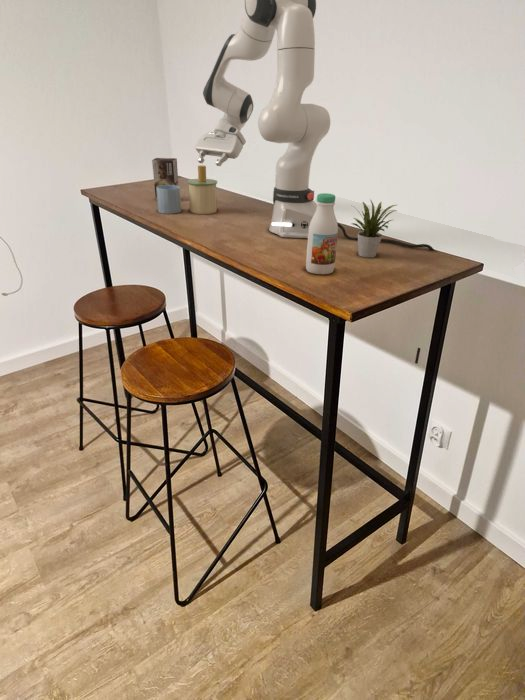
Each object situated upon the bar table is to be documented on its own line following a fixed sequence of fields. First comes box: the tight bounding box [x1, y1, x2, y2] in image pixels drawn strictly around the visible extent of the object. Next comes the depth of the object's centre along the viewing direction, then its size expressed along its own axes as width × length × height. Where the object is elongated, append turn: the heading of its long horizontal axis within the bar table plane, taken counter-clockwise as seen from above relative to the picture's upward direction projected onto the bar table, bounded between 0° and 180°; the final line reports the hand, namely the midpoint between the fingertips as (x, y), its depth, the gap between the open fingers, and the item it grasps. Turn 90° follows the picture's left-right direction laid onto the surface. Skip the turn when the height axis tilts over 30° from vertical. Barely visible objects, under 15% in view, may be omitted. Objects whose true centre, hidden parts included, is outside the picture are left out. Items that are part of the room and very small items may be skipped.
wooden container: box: [188, 184, 218, 215], centre depth 184 cm, size 10×10×10 cm
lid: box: [186, 164, 218, 186], centre depth 180 cm, size 11×11×7 cm
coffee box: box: [151, 157, 180, 201], centre depth 199 cm, size 9×6×16 cm
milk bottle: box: [305, 192, 339, 275], centre depth 124 cm, size 8×8×20 cm
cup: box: [156, 185, 182, 215], centre depth 182 cm, size 9×9×9 cm
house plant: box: [351, 199, 398, 259], centre depth 138 cm, size 14×14×16 cm
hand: (208, 163), depth 180 cm, fingers open, 8 cm apart
